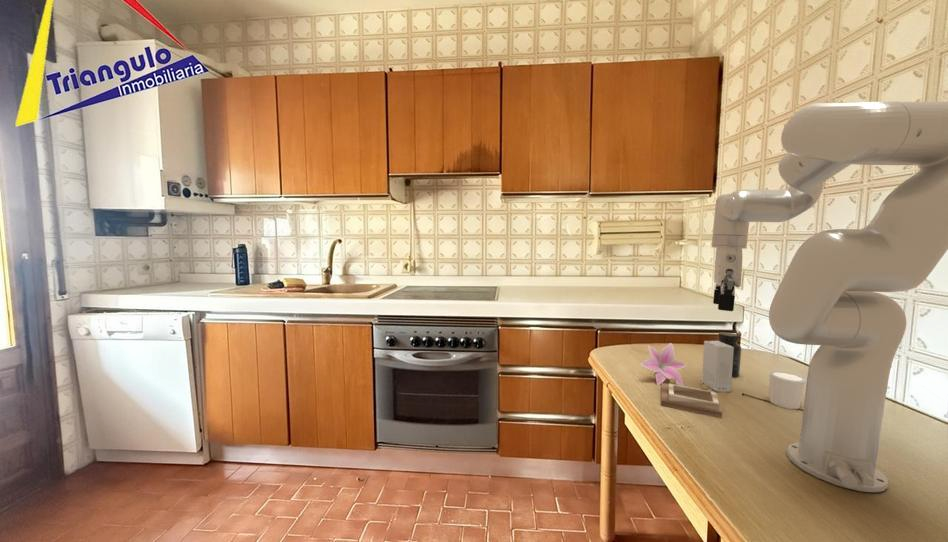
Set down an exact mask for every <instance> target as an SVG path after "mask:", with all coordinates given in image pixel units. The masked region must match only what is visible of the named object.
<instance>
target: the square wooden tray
mask: <svg viewBox="0 0 948 542" xmlns="http://www.w3.org/2000/svg"><path fill="white" fill-rule="evenodd" d="M660 385H661V386H660V388H661V389H660V393H661V394H660V400H661V401H660V405H661V406H662V407H666V408H672V409H675V410H676V409H678V410H681V411H686V412H691V413H695V414H699V415H700V414H701V415H704V416H709V417H715V418H719V419H722V417H723V412H722V409H721V405H720V403H719V402H720V401H719V400H718V397H717V394H716V391H715V390H709V389H708V388H709V387H708V385H706V384H703V383H701V385H700V388H697V387H694V386H693V387H691V386H686V385H684V386H682V385H678V384H676V379H673V378H670V379H669V383H667V382H662V383H661V384H660Z"/></svg>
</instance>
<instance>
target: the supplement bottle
mask: <svg viewBox="0 0 948 542" xmlns="http://www.w3.org/2000/svg"><path fill="white" fill-rule="evenodd" d="M717 339H718V341H720V342H722V343H724V344H727V345H729V346H732V347H734V351H733V366H732V378H737V377H739V376H740V369H741V358H742V347H741V345H740V344H738V342H739V335H738V334H735V333H732V332H724V331H723V332H718V337H717Z"/></svg>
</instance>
